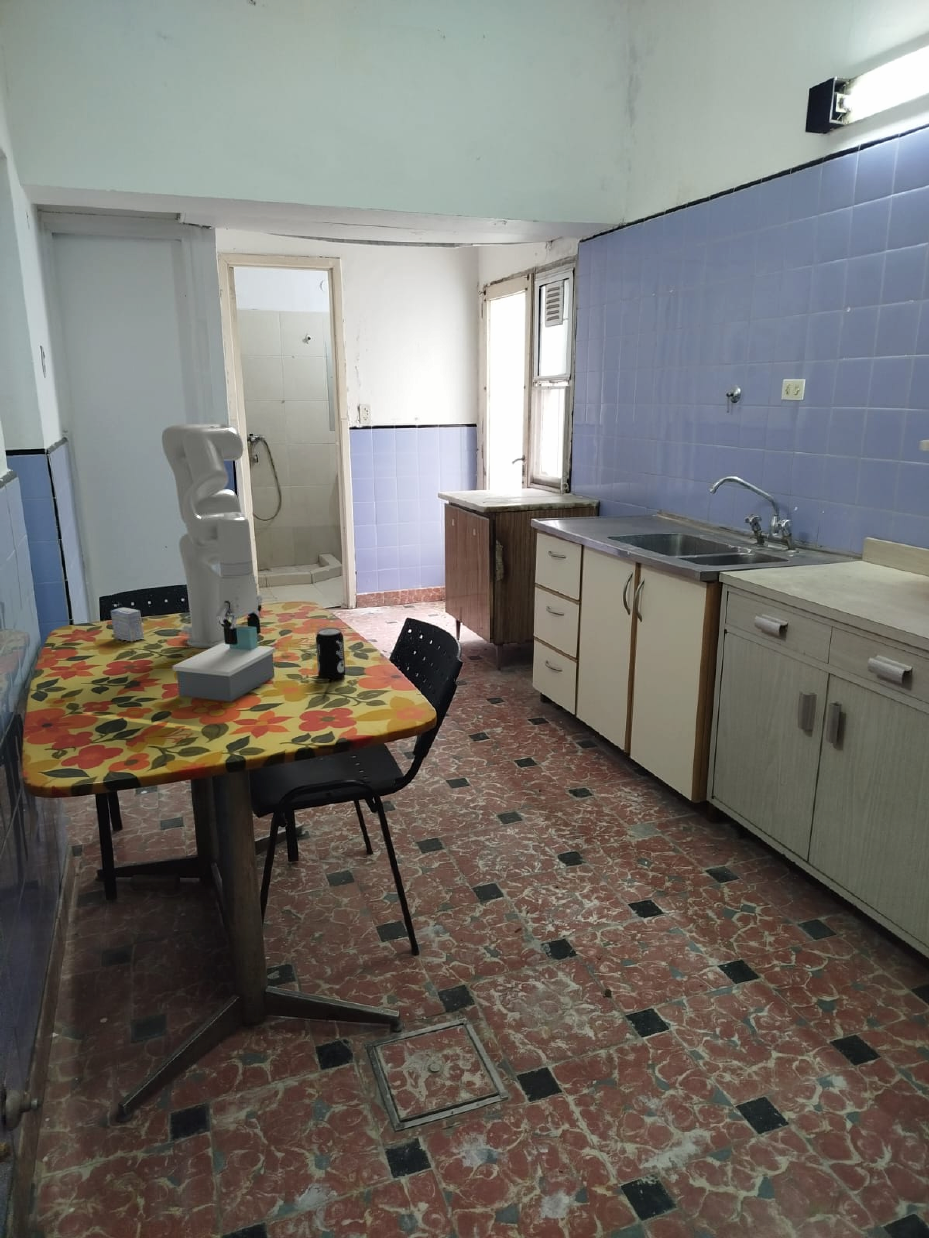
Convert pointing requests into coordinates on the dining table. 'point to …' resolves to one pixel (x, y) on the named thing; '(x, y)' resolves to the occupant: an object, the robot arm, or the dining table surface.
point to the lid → (228, 655)
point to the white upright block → (127, 624)
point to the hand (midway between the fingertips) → (243, 638)
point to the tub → (225, 682)
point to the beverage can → (330, 654)
